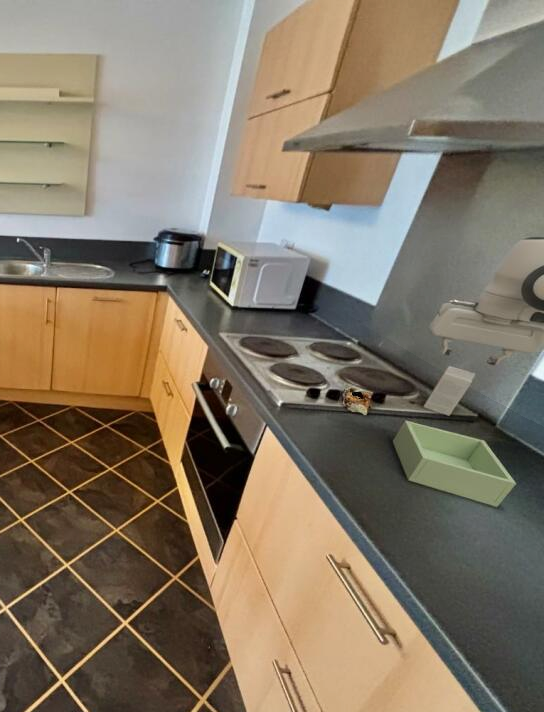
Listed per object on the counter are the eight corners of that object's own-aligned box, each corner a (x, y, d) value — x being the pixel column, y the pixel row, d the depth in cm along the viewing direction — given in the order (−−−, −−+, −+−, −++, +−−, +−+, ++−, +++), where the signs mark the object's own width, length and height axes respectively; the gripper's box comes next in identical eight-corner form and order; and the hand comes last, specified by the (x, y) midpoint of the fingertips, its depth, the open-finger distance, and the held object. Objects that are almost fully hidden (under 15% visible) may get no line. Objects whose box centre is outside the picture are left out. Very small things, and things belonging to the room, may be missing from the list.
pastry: (344, 411, 107) (350, 399, 105) (337, 391, 116) (342, 380, 115) (377, 419, 104) (383, 407, 102) (366, 398, 114) (372, 386, 112)
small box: (428, 398, 116) (448, 365, 111) (454, 407, 112) (476, 373, 107) (422, 407, 111) (443, 372, 106) (449, 416, 107) (472, 381, 102)
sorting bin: (468, 462, 90) (484, 440, 87) (496, 507, 78) (516, 483, 75) (392, 441, 95) (405, 420, 93) (407, 480, 83) (422, 457, 80)
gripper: (449, 300, 100) (419, 352, 106) (566, 320, 92) (525, 375, 98) (442, 294, 105) (413, 344, 111) (552, 312, 97) (514, 365, 103)
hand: (467, 359), depth 105 cm, fingers open, 8 cm apart
